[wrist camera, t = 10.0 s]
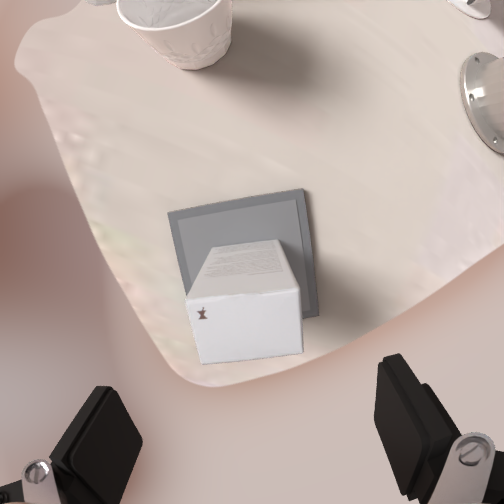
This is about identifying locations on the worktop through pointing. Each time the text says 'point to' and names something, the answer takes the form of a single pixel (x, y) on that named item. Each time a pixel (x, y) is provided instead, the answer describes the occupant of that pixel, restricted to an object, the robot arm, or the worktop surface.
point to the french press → (100, 2)
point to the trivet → (248, 235)
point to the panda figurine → (473, 7)
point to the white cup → (181, 28)
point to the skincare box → (245, 304)
